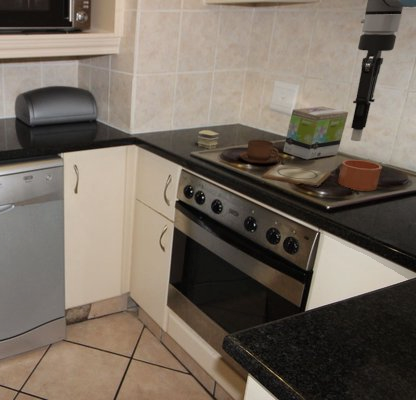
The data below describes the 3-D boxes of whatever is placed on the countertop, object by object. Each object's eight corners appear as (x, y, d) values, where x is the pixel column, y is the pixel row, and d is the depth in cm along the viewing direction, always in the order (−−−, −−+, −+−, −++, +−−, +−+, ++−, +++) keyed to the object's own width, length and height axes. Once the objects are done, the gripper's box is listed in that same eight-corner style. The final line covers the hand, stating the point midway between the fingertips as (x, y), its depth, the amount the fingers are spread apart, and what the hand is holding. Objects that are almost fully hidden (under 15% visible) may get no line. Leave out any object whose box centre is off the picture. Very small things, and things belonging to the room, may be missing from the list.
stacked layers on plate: (226, 149, 168) (228, 133, 166) (208, 152, 164) (210, 137, 162) (204, 143, 176) (206, 128, 174) (187, 146, 172) (188, 131, 170)
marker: (361, 139, 128) (371, 90, 123) (359, 141, 126) (370, 91, 121) (351, 138, 129) (361, 90, 124) (350, 140, 127) (360, 91, 123)
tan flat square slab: (330, 175, 139) (331, 172, 139) (318, 188, 129) (319, 184, 129) (277, 166, 148) (277, 163, 148) (261, 177, 138) (262, 174, 138)
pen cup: (379, 184, 131) (384, 163, 129) (373, 193, 125) (378, 171, 123) (341, 178, 137) (346, 157, 135) (334, 186, 130) (338, 165, 128)
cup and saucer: (281, 159, 155) (284, 141, 153) (274, 168, 146) (277, 149, 143) (243, 154, 161) (245, 136, 159) (234, 163, 152) (236, 144, 150)
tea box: (308, 160, 153) (318, 115, 148) (282, 152, 162) (290, 108, 156) (338, 154, 160) (349, 110, 154) (311, 147, 168) (321, 105, 162)
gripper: (366, 32, 126) (347, 121, 134) (355, 34, 115) (335, 130, 123) (400, 32, 121) (379, 124, 129) (392, 34, 110) (369, 134, 119)
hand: (358, 127), depth 126 cm, fingers closed on marker, 2 cm apart
